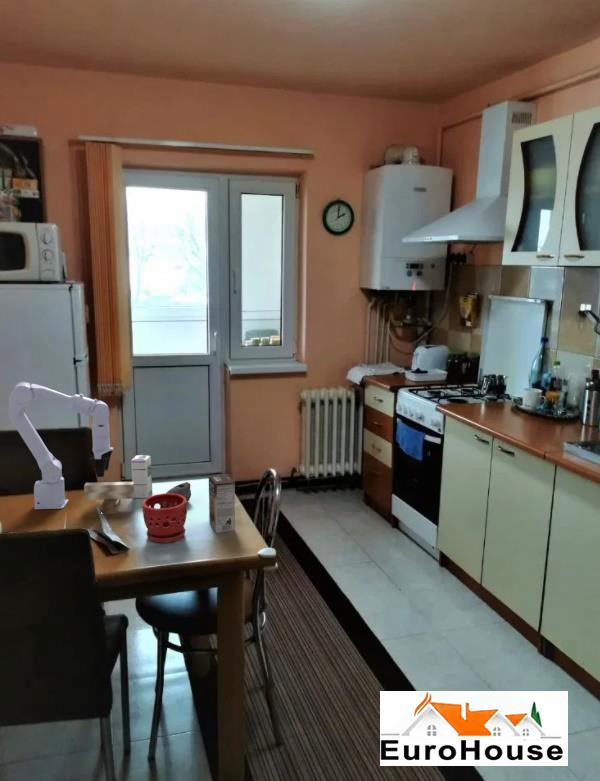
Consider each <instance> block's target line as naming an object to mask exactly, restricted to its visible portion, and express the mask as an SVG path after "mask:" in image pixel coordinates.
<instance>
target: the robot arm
mask: <svg viewBox="0 0 600 781" xmlns="http://www.w3.org/2000/svg"><path fill="white" fill-rule="evenodd" d="M32 399H33V401H34V402H37V401H40V400H48V401H51V402H53V403H54V402H55V403H58V404H62V405H65V406H68V408H69V410H70V411H72V412H76V413H78V414H82V415H86V416H92V423H91V429H92V431H91V432H92V452H93V454H94V456H91V457H90V462H91V463H92V466H94V470H95V475H96V477H97V478H104V477H105V472H106V471H108V470H109V467H110V461H111V456H112V454H113V452H114V448H115V447H111V439H110V438H111V436H110V435H111V434H110V433H111V432H110V422H109V421H110V419H109V418H110V417H109V416H110V414H111V413H110V409H109V406H108V404H107V403H105V402H104V401H102V400H99V399H97V398H89V397H87V396H85V395H84V394H83V393H79V394H76V393H75V394H73V395H68V394H65V393H62V392H59V391H57V390H54V389H52V388H49V387H46V386H43V385H40V384H36V383H30V382H27V381H19V382H18V383H17V384H15V386H14V387H13V389H12V392H11V394H10V395H9V398H8V410H7V415H8V418H9V420H10V422H12V424H13V426H14V427H15V429H16V430H17V432H18V433H19V435H20V436H21V438H22V440H23V442H24V443H25V445H26V446H27V447H28V449H29V451H30V452H31V453H32V456H33V457H34V458H35V460H36V462H37V465H38V467H39V470H40V471H41V477H42V478H41V480H36V481H35V483H34V485H33V495H34V496H33V497H34V498H33V499H34V510H50V509H51V510H57V509H64V508H65V506H66V505H67V503H68V502H69V499H67V498H66V496H65V478H64V477H63V473H62V472H63V471H62V469H63V465H62V462H61V461H60V460H59V459H57V458H56V457H55V456H54V455H53V453H51V452H50V451H49V449H48V448H47V446H46V444H45V443H44V441H43V439H42V438H41V436H40V435H39V433H38V431H37V430H36V428H35V427H34V425H33V423H32V421H30V419H29V417H28V416H27V414H26V410H27V406H29V404H30V403H31V401H32Z"/></svg>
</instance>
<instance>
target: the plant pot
mask: <svg viewBox="0 0 600 781" xmlns="http://www.w3.org/2000/svg"><path fill="white" fill-rule="evenodd" d="M165 493H166V494H165ZM165 493H159V494H154V495H150V496H149V497H148V498H144V500H143V501H142V504H141V505H142V506H141V507H142V515H143V521H144V525H145V527H146V529H147V531H146V536H147V538H148V539H149V540H150V541H152V542H156V543H160V544H161V543H162V544H163V543H165V544H166V543H173V542H175V541H178V540H180V539H181V538H183V537H184V535H185V534H186V528H185V527H184V526H185V524H186V519H187V515H188V514H187V513H188V504H187V503H188V502H187V501H186V498H185V497H184V496H182V495H179V494H171V493H167V492H165ZM164 501H165V502H167V504H166V505H163V504H162V503H163V502H164ZM175 502H177V504H175ZM169 504H172V506H170V505H169ZM156 505H159V506H160V507H159V508H156V507H155V506H156Z"/></svg>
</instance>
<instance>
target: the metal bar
mask: <svg viewBox="0 0 600 781" xmlns="http://www.w3.org/2000/svg"><path fill="white" fill-rule="evenodd" d="M83 489H84V490H83V491H84V500H85V501H86V500H87V501H89V500H90V501H91V500H93V501H97V500H104V499H120V500H129V499H130V500H131V499H132V500H133V499H134V496H135V491H134V482H132V481H111V482H110V481H108V482H106V481H104V482H85V484H84V486H83Z"/></svg>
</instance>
